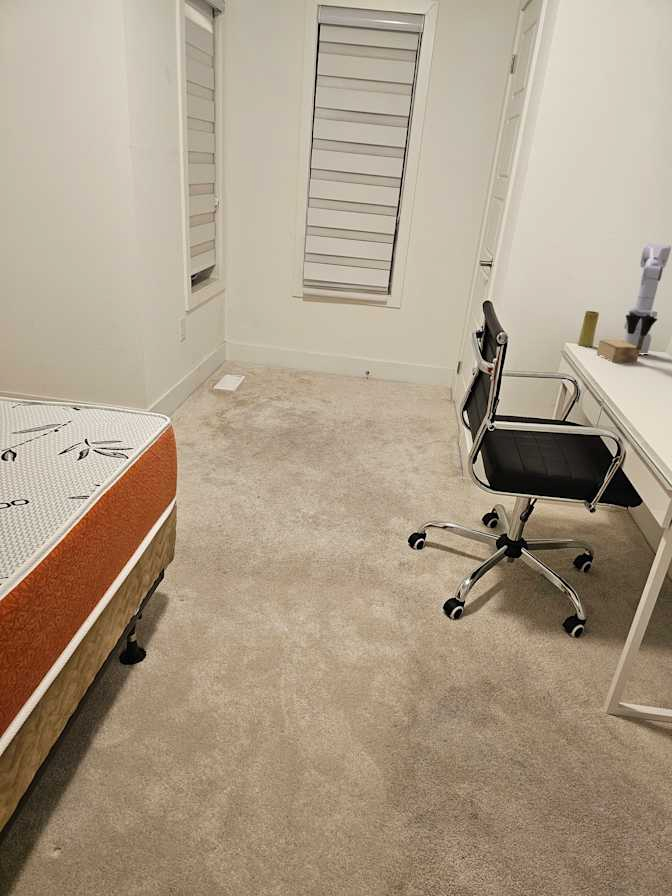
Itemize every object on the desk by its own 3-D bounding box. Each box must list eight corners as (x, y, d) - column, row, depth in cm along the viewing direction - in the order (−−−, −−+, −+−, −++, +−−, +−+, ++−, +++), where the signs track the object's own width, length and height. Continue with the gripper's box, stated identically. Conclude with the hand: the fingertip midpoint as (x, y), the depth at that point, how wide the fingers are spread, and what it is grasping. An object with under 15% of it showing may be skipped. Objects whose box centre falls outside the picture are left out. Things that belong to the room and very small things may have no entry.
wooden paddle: (635, 361, 238) (642, 334, 234) (638, 363, 236) (646, 335, 232) (612, 361, 236) (619, 334, 232) (615, 362, 234) (622, 335, 230)
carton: (618, 355, 248) (622, 340, 246) (635, 362, 238) (638, 347, 236) (596, 354, 247) (599, 340, 244) (611, 361, 237) (615, 346, 234)
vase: (595, 347, 260) (603, 313, 254) (583, 347, 258) (591, 313, 253) (586, 343, 265) (593, 310, 260) (574, 343, 264) (581, 310, 258)
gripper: (624, 296, 235) (616, 331, 239) (648, 297, 222) (639, 335, 225) (640, 298, 237) (632, 333, 240) (665, 300, 223) (656, 337, 226)
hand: (636, 334), depth 233 cm, fingers open, 7 cm apart
